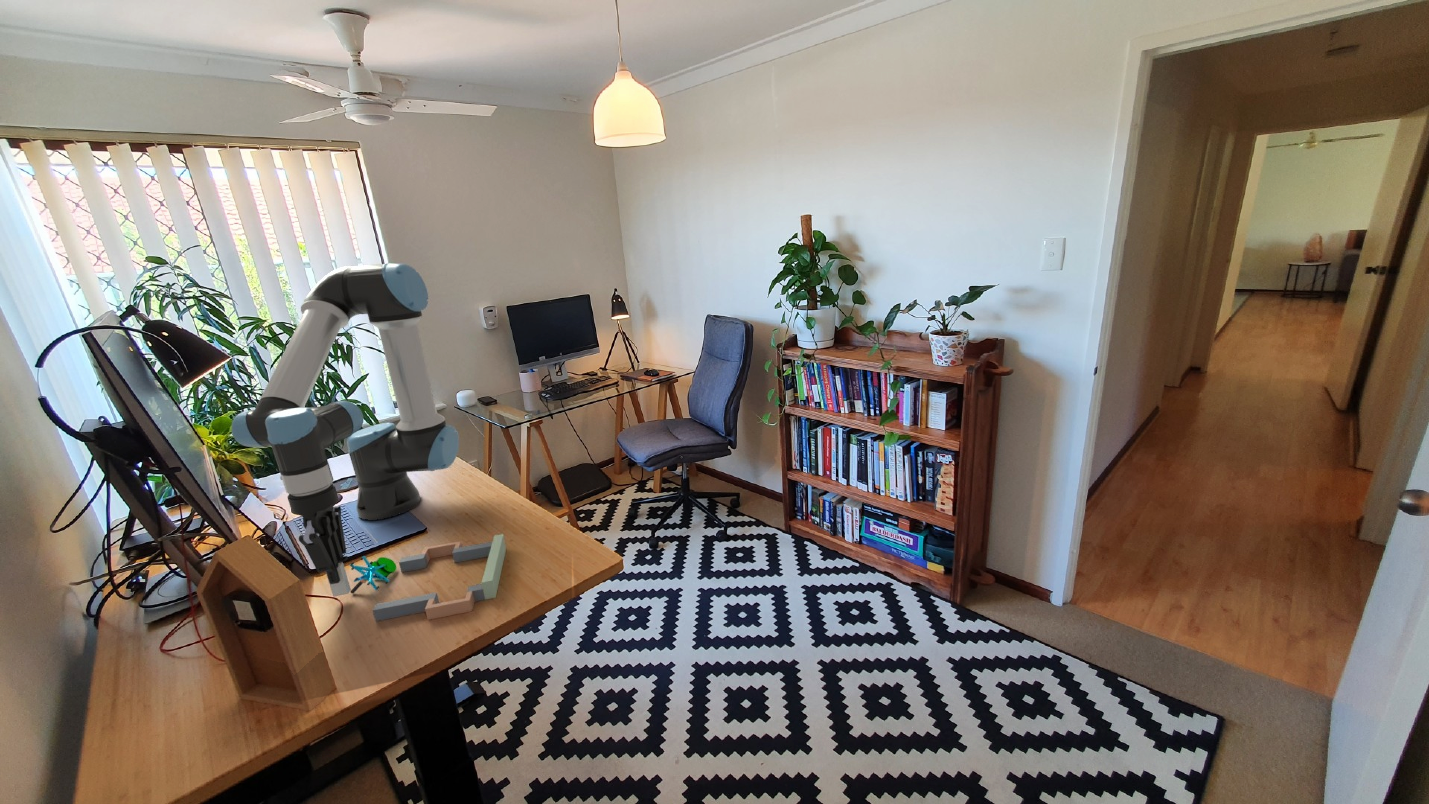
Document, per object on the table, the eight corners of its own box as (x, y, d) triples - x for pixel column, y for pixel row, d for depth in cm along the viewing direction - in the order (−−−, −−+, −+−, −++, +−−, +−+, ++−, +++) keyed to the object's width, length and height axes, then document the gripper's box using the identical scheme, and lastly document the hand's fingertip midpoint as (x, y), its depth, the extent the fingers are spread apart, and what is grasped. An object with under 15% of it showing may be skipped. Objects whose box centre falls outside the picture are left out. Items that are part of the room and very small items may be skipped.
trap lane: (407, 560, 125) (403, 545, 124) (507, 542, 130) (504, 527, 129) (370, 631, 102) (365, 613, 101) (493, 606, 107) (490, 589, 106)
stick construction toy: (376, 585, 110) (348, 559, 110) (352, 611, 109) (324, 585, 110) (409, 569, 122) (384, 546, 122) (388, 593, 121) (363, 569, 122)
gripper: (304, 477, 110) (334, 578, 116) (270, 506, 97) (306, 617, 104) (345, 472, 111) (373, 571, 118) (317, 499, 99) (350, 609, 106)
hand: (342, 593), depth 111 cm, fingers closed
